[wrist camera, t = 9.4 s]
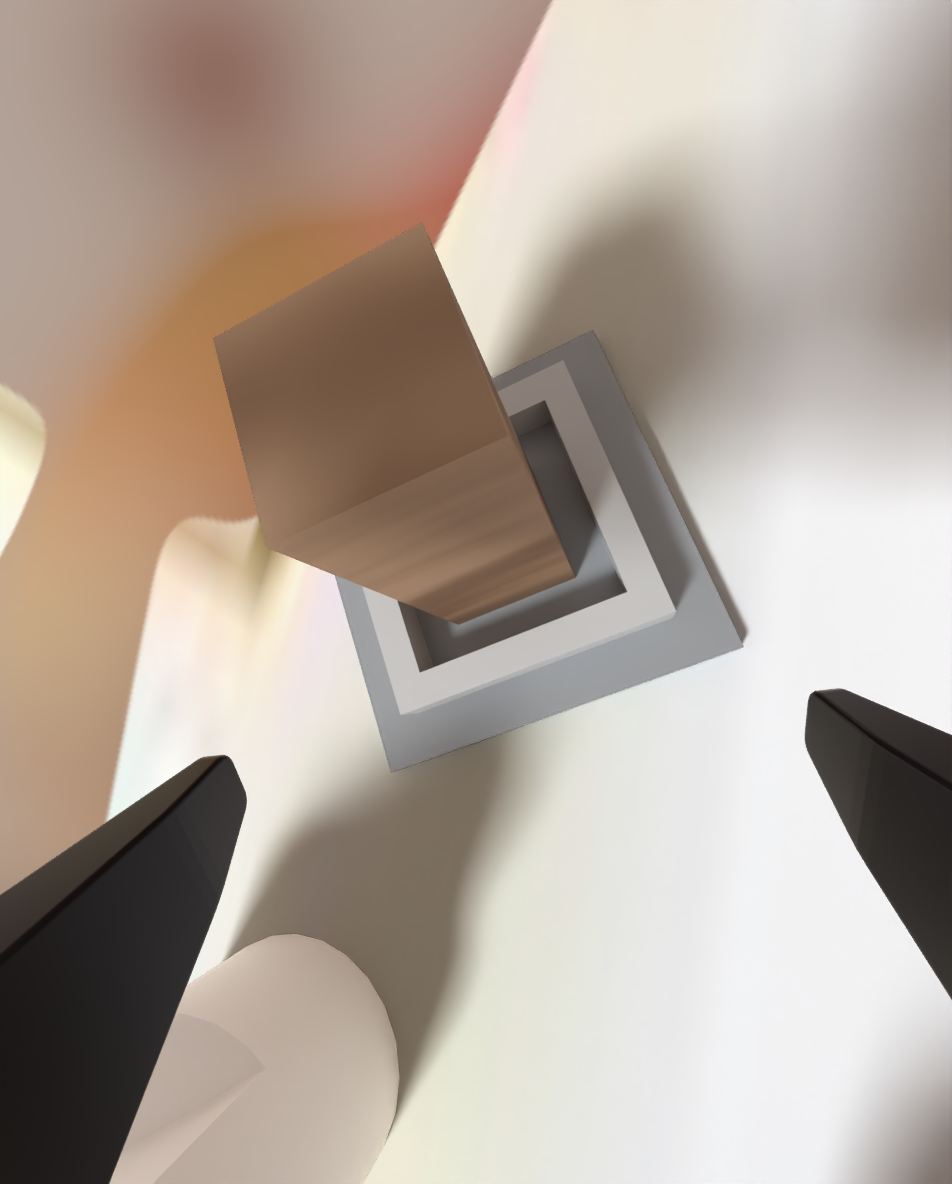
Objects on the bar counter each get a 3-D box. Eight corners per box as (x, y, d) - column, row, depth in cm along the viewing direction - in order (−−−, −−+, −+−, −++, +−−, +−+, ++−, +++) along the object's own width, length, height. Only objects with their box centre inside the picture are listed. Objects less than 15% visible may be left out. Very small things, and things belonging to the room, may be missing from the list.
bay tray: (740, 648, 20) (754, 642, 18) (397, 770, 23) (371, 779, 20) (594, 338, 24) (590, 301, 21) (311, 474, 26) (281, 454, 24)
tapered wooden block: (575, 577, 22) (508, 436, 10) (458, 624, 23) (266, 547, 11) (530, 467, 23) (422, 222, 11) (421, 515, 24) (213, 338, 12)
